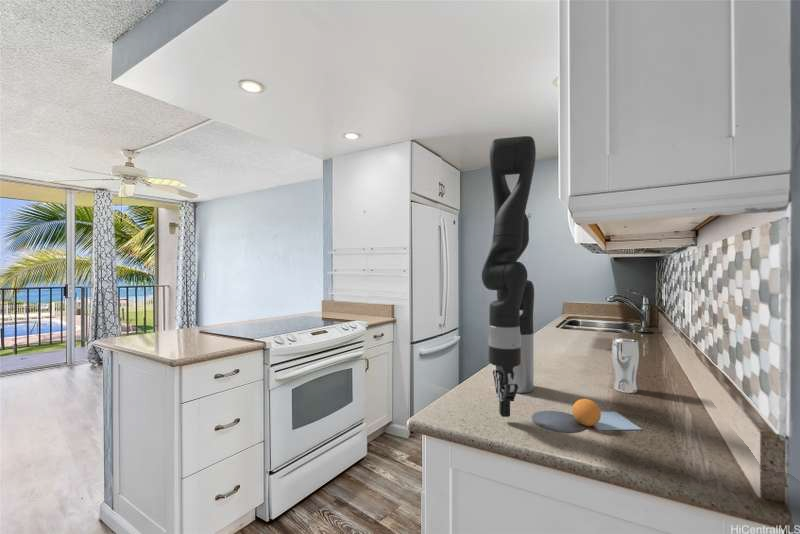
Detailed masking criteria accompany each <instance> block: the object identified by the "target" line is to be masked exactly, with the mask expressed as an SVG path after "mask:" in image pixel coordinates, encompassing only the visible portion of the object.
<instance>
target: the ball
mask: <svg viewBox="0 0 800 534" xmlns="http://www.w3.org/2000/svg"><path fill="white" fill-rule="evenodd" d="M601 412H602V411H601V409H600V407H599V405H598V404H597V403H596V402H594V400H591V399H588V398H581V399H578V400H576V401H575V402H574V404H573V406H572V415H574V417H575V419H576V420H577V421H578V422H579V423H580V424H582V425H585V426H586V427H594V426H593V425H595V424H597V423H598V422H599V420H600V418H601Z"/></svg>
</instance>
